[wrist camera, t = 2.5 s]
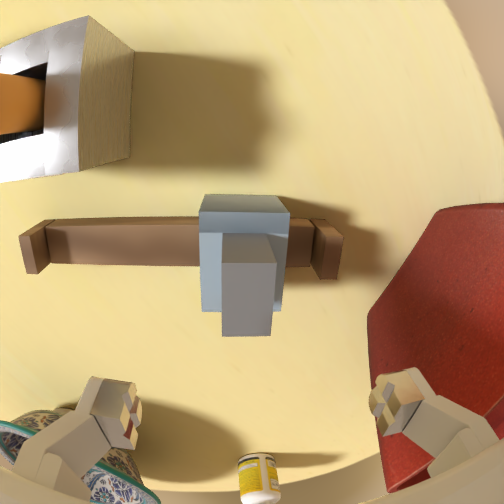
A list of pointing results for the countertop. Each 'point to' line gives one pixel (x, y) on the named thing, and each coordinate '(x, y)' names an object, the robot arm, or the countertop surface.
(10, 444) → the bowl
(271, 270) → the carriage
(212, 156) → the countertop surface
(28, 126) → the gauge button
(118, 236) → the rail
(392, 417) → the robot arm
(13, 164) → the grey cube with hole
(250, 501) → the supplement bottle
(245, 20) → the countertop surface
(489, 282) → the plant pot
